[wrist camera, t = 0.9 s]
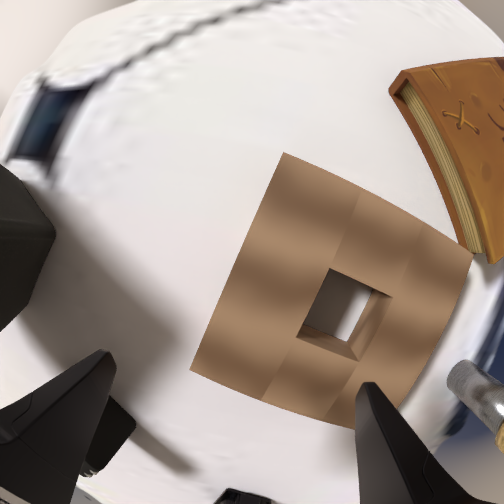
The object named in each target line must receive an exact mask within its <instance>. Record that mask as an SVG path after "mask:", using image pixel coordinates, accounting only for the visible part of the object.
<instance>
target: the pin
mask: <svg viewBox="0 0 504 504" xmlns="http://www.w3.org/2000/svg"><path fill="white" fill-rule="evenodd" d="M447 387H448V388H449V389H450V390H451V391H452V392H453V393H454V394H455V395H456V396H457V397H458V398H459V399H460V400H461V401H462V402H463V403H464V404H465V405H466V406H467V407H468V408H469V409H470V410H471V411H472V412H473V413H474V414H475V415H476V416H477V417H478V418H479V419H480V420H481V421H482V422H483V423H484V424H485V425H486V426H487V427H488V428H489V429H490V430H491V431H492V432H493V433H494V434H495V435H496V439H495V445H496V446H497V447H498V448H499V449H500V450H501V451H502V452H503V454H504V385H503V384H502V383H500V382H499V381H498V380H496V379H495V378H493V377H492V376H491V375H489V374H488V373H486V372H485V371H484V370H482V369H481V368H479V367H478V366H477V365H475V364H474V363H472V362H471V361H469V360H462V361H460V362H459V363H457V364H456V365H455V366H454V367H453V368H452V370H451V371H450V373H449V375H448V378H447Z"/></svg>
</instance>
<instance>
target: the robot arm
mask: <svg viewBox="0 0 504 504" xmlns="http://www.w3.org/2000/svg"><path fill="white" fill-rule="evenodd" d="M116 369H117V367H116V363H115V361H114V359H113V356H112V354H111V352H110V351H107V350H103V349H100V350H98V351H96V352H95V353H93V354H91V355H90V356H88V357H87V358H85V359H83V360H82V361H80V362H79V363H77V364H76V365H74V366H72V367H71V368H69V369H68V370H66V371H64V372H63V373H61V374H60V375H58V376H57V377H55V378H53V379H52V380H50V381H49V382H47V383H45V384H44V385H42V386H41V387H39V388H38V389H36V390H34V391H33V392H31V393H30V394H28V395H26V396H25V397H23V398H21V399H20V400H18V401H16V402H14V403H12V404H10V405H8V406H6V407H4V408H2V409H0V504H70V502H71V498H72V495H73V492H74V489H75V486H76V482H77V479H78V476H79V474H80V471H81V468H82V465H83V462H84V459H85V456H86V454H87V451H88V448H89V446H90V443H91V440H92V438H93V435H94V433H95V430H96V428H97V425H98V423H99V420H100V418H101V415H102V413H103V410H104V408H105V405H106V403H107V400H108V396H109V393H110V390H111V386H112V383H113V380H114V377H115V373H116ZM355 442H356V452H357V463H358V476H359V491H360V504H496V503H491V502H486V501H482V500H479V499H476V498H474V497H472V496H471V495H469V494H468V493H467V492H466V491H465V490H464V489H463V488H462V487H461V486H460V485H459V484H458V483H457V482H456V481H455V480H454V479H453V478H452V477H451V476H450V475H449V474H448V473H447V472H446V471H445V470H444V468H443V467H442V466H441V465H440V464H439V463H438V461H437V460H436V459H435V458H434V456H433V455H432V454H431V453H430V451H428V449H427V447H426V446H425V445H424V444H423V442H422V441H421V440H420V438H419V437H418V436H417V435H416V433H415V432H414V431H413V429H412V428H411V427H410V426H409V424H408V423H407V422H406V420H405V419H404V418H403V417H402V415H401V414H400V413H399V412H398V410H397V409H396V408H395V407H394V405H393V404H392V403H391V401H390V400H389V399H388V398H387V396H386V395H385V394H384V393H383V391H382V390H381V389H380V388H379V386H378V385H377V384H376V383H375V382H363V383H362V385H361V387H360V389H359V391H358V393H357V395H356V398H355ZM214 504H271V500H269V499H265V498H261V497H257V496H253V495H250V494H246V493H243V492H239V491H236V490H233V489H229V488H228V489H226V490H225V491H224V492H223V493H222V494H221V496H220V497H219V498H218V499H217V500H216V501H215V502H214Z"/></svg>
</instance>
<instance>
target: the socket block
mask: <svg viewBox="0 0 504 504" xmlns="http://www.w3.org/2000/svg"><path fill="white" fill-rule="evenodd" d="M473 256H474V254H472V253H471V252H469V251H468V250H466V249H465V248H464V247H462V246H461V245H459V244H458V243H456V242H455V241H453V240H452V239H450V238H448V237H447V236H445V235H444V234H442V233H441V232H439V231H438V230H436V229H434V228H433V227H431V226H429V225H428V224H426V223H425V222H423V221H421V220H420V219H418V218H416V217H414V216H413V215H411V214H409V213H408V212H406V211H404V210H402V209H401V208H399V207H397V206H395V205H393V204H392V203H390V202H388V201H386V200H384V199H382V198H381V197H379V196H377V195H375V194H373V193H371V192H369V191H367V190H365V189H363V188H361V187H359V186H357V185H355V184H353V183H351V182H349V181H347V180H345V179H343V178H341V177H339V176H337V175H335V174H332V173H330V172H328V171H326V170H324V169H322V168H319V167H317V166H315V165H313V164H310V163H308V162H306V161H303V160H301V159H299V158H296V157H294V156H292V155H289V154H287V153H284V152H283V154H282V156H281V159H280V161H279V163H278V165H277V168H276V170H275V172H274V174H273V177H272V179H271V181H270V183H269V186H268V188H267V190H266V192H265V195H264V197H263V199H262V201H261V204H260V206H259V208H258V211H257V213H256V215H255V217H254V220H253V222H252V224H251V227H250V229H249V231H248V233H247V236H246V238H245V240H244V243H243V245H242V247H241V250H240V252H239V254H238V256H237V259H236V261H235V263H234V266H233V268H232V270H231V273H230V275H229V277H228V280H227V282H226V284H225V287H224V289H223V291H222V294H221V296H220V298H219V301H218V303H217V305H216V308H215V310H214V312H213V315H212V317H211V319H210V322H209V324H208V327H207V329H206V331H205V334H204V336H203V338H202V341H201V343H200V346H199V348H198V350H197V353H196V355H195V357H194V360H193V362H192V365H191V367H190V369H189V370H191V371H193V372H195V373H197V374H199V375H202V376H204V377H206V378H208V379H210V380H212V381H214V382H217V383H219V384H221V385H223V386H226V387H228V388H230V389H233V390H235V391H238V392H240V393H242V394H245V395H247V396H250V397H252V398H255V399H258V400H260V401H263V402H265V403H268V404H271V405H274V406H276V407H279V408H282V409H285V410H288V411H291V412H294V413H297V414H300V415H303V416H307V417H310V418H313V419H316V420H320V421H323V422H327V423H330V424H334V425H338V426H342V427H346V428H350V429H354V430H355V398H356V395H357V393H358V391H359V389H360V387H361V385H362V383H363V382H375V383H376V384H377V385H378V386H379V388H380V389H381V390H382V391H383V393H384V394H385V395H386V396H387V398H388V399H389V400H390V401H391V403H392V404H393V405H394V407H395V408H396V409H397V408H398V407H399V405H400V404H401V402H402V401H403V399H404V398H405V396H406V395H407V393H408V392H409V390H410V389H411V387H412V386H413V384H414V383H415V381H416V379H417V378H418V376H419V374H420V373H421V371H422V369H423V368H424V366H425V364H426V363H427V361H428V359H429V357H430V355H431V354H432V352H433V350H434V348H435V346H436V344H437V342H438V340H439V339H440V337H441V335H442V333H443V331H444V328H445V326H446V324H447V322H448V320H449V318H450V316H451V314H452V311H453V309H454V307H455V304H456V302H457V300H458V297H459V295H460V292H461V290H462V287H463V285H464V282H465V279H466V277H467V274H468V271H469V268H470V265H471V262H472V259H473ZM329 268H331V269H333V270H335V271H338V272H340V273H342V274H344V275H346V276H348V277H351V278H353V279H355V280H357V281H359V282H361V283H364V284H366V285H368V286H370V287H372V288H374V289H373V291H372V294H371V296H370V298H369V300H368V302H367V304H366V306H365V308H364V310H363V312H362V314H361V316H360V318H359V320H358V322H357V324H356V326H355V328H354V330H353V332H352V334H351V335H350V337H349V339H348V341H347V342H345V341H343V340H340V339H338V338H335V337H333V336H330V335H328V334H325V333H323V332H320V331H318V330H316V329H313V328H311V327H308V326H306V325H304V324H303V322H304V320H305V318H306V316H307V314H308V312H309V310H310V308H311V306H312V304H313V302H314V300H315V298H316V296H317V294H318V291H319V289H320V287H321V285H322V283H323V281H324V279H325V276H326V274H327V272H328V270H329Z"/></svg>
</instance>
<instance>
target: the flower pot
mask: <svg viewBox="0 0 504 504" xmlns="http://www.w3.org/2000/svg"><path fill="white" fill-rule="evenodd" d="M55 234H56V232H55V228H54V226H53V225H52V224H51V222H50V221H49V220H48V219H47V217H46V216H45V215H44V213H43V212H42V211H41V209H40V208H39V207H38V205H37V204H36V202H35V201H34V200H33V198H32V197H31V195H30V194H29V193H28V191H27V190H26V188H25V187H24V185H23V184H22V182H21V181H20V179H19V178H18V177H16V176H15V175H14V174H13V173H11V172H10V171H9V170H8V169H6V168H5V167H3V166H2V165H1V164H0V332H1V331H2V330H3V329H4V328H5V327H6V326H7V325H8V324H9V323H10V322H11V321H12V320H13V319H14V318H15V317H16V316H17V315H18V314H19V313H20V312H21V311H22V310H23V309H24V308H25V307H26V306H27V304H28V302H29V299H30V296H31V293H32V291H33V288H34V285H35V283H36V280H37V278H38V275H39V273H40V270H41V268H42V266H43V263H44V261H45V259H46V256H47V254H48V252H49V250H50V248H51V245H52V243H53V241H54V239H55Z"/></svg>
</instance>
